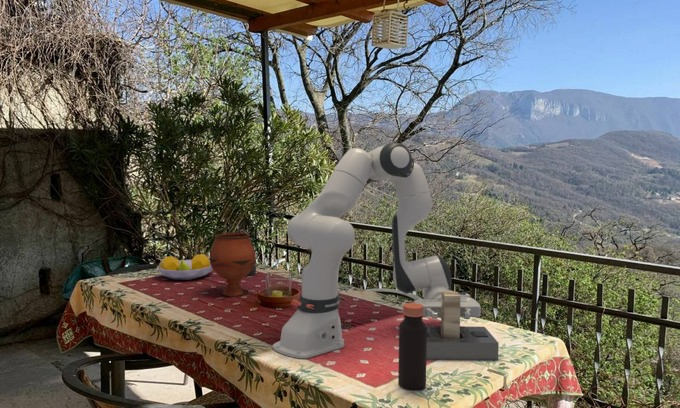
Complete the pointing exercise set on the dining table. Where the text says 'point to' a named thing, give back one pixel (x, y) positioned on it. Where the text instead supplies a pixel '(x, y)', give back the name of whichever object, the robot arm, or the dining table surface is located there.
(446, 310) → the birch peg
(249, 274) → the jar
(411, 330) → the bottle
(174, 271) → the fruit bowl
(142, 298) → the dining table surface
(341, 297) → the pliers
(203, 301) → the dining table surface
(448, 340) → the socket block
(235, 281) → the goblet
